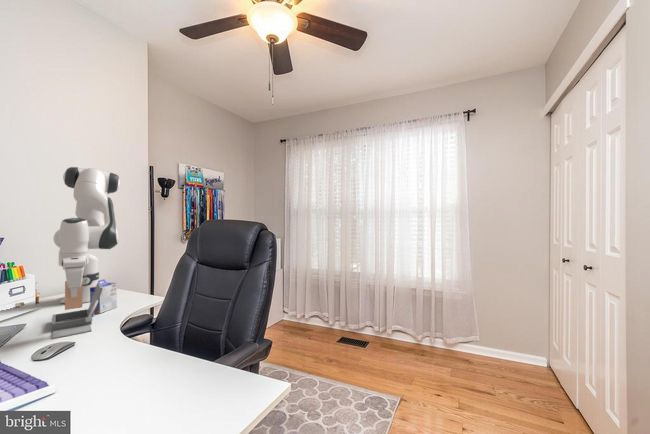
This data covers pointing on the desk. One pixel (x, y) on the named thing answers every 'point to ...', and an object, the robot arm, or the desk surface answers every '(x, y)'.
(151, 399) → the desk surface
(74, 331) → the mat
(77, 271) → the robot arm
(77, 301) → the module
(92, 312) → the case
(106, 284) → the ink cartridge box
